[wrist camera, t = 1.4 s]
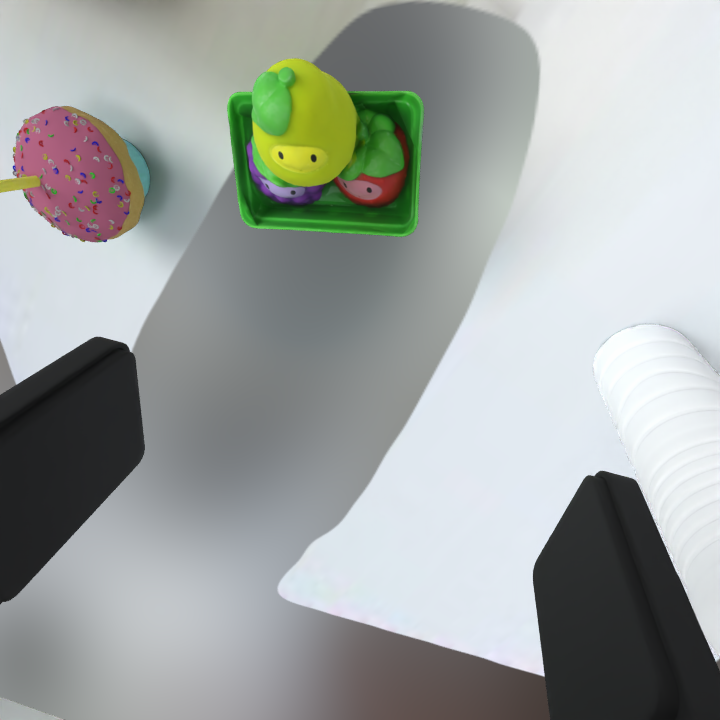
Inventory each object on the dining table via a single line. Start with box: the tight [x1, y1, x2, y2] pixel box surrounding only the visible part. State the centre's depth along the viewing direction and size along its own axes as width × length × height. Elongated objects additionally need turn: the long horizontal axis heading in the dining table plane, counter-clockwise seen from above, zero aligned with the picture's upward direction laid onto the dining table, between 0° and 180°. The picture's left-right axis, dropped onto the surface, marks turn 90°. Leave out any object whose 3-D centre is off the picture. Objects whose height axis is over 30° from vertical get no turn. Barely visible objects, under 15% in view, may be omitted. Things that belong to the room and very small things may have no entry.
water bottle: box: [593, 324, 720, 658], centre depth 23 cm, size 9×6×25 cm
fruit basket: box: [227, 58, 424, 237], centre depth 26 cm, size 11×9×11 cm
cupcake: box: [0, 106, 150, 242], centre depth 30 cm, size 9×8×12 cm
